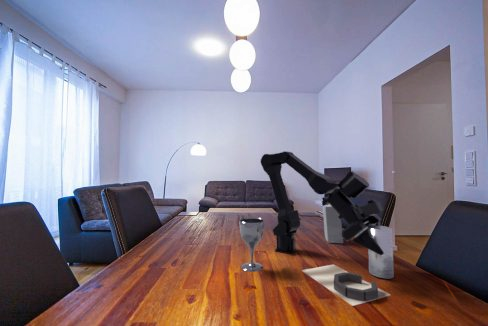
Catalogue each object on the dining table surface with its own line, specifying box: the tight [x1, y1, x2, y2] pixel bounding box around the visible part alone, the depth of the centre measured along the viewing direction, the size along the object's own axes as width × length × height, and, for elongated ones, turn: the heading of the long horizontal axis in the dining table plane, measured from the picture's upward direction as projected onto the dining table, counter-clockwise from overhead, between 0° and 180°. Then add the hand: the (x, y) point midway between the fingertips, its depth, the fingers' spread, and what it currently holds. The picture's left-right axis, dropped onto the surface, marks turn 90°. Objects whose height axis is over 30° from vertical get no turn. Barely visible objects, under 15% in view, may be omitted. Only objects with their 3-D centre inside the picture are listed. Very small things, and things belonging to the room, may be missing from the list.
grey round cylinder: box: [367, 225, 394, 280], centre depth 63 cm, size 6×6×13 cm
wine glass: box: [239, 217, 265, 273], centre depth 72 cm, size 8×8×15 cm
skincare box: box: [322, 204, 344, 244], centre depth 99 cm, size 8×7×16 cm
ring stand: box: [301, 263, 391, 307], centre depth 60 cm, size 19×12×3 cm, turn 20°
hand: (385, 251), depth 62 cm, fingers closed on grey round cylinder, 6 cm apart
